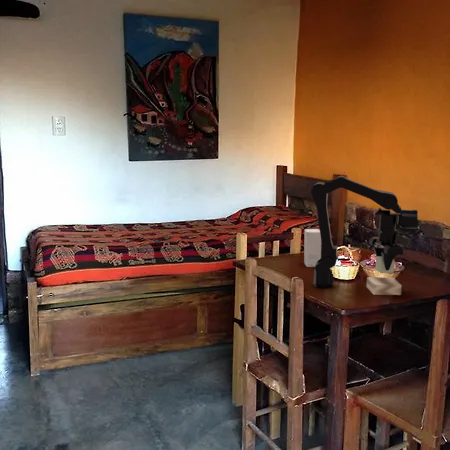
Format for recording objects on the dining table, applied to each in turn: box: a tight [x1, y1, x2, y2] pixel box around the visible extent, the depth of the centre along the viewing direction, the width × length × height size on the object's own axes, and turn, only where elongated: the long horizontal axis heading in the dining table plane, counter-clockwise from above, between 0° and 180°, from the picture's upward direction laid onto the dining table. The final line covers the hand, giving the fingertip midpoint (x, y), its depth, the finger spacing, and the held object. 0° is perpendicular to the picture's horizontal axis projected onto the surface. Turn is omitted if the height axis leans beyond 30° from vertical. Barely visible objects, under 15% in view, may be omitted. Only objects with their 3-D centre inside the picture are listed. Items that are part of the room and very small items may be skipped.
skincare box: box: [303, 228, 322, 268], centre depth 239 cm, size 8×7×16 cm
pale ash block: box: [366, 276, 402, 296], centre depth 204 cm, size 10×10×4 cm
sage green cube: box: [375, 255, 395, 274], centre depth 203 cm, size 5×5×5 cm
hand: (384, 268), depth 203 cm, fingers closed on sage green cube, 5 cm apart
